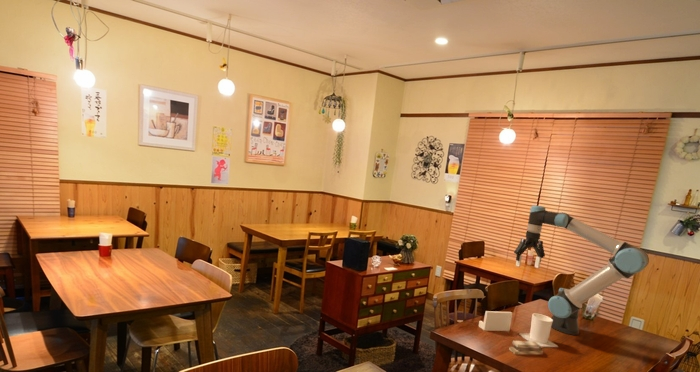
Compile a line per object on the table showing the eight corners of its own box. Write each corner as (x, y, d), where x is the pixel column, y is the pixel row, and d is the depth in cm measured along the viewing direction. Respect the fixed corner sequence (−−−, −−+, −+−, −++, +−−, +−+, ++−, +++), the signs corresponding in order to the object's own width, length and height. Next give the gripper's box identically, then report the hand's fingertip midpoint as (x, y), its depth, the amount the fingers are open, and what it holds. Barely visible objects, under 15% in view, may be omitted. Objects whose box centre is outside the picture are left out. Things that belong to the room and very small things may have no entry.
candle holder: (551, 346, 186) (556, 323, 185) (531, 341, 188) (535, 318, 187) (545, 337, 195) (549, 315, 195) (525, 333, 197) (529, 311, 197)
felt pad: (538, 334, 200) (538, 333, 200) (557, 347, 187) (558, 346, 187) (518, 334, 196) (518, 333, 196) (537, 347, 183) (537, 346, 183)
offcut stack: (535, 349, 181) (537, 340, 180) (542, 354, 176) (544, 345, 176) (508, 349, 176) (510, 340, 176) (515, 354, 172) (516, 345, 171)
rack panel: (503, 326, 203) (506, 309, 203) (509, 330, 199) (512, 313, 198) (478, 326, 199) (481, 308, 198) (484, 330, 194) (487, 312, 194)
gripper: (520, 231, 209) (514, 267, 210) (555, 235, 215) (549, 270, 217) (511, 228, 216) (505, 263, 217) (545, 232, 223) (539, 266, 224)
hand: (527, 267), depth 217 cm, fingers open, 13 cm apart
